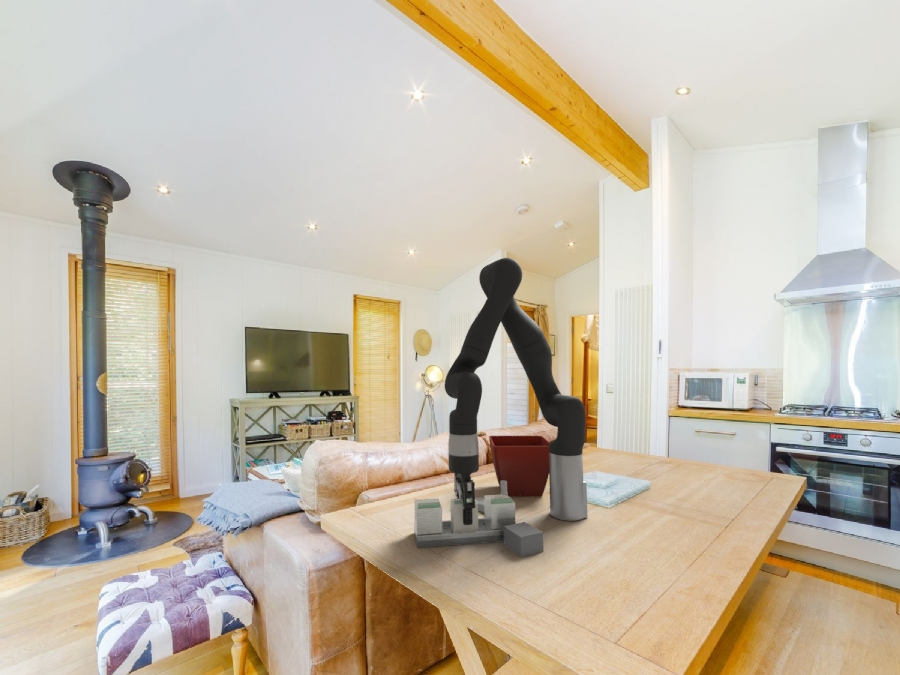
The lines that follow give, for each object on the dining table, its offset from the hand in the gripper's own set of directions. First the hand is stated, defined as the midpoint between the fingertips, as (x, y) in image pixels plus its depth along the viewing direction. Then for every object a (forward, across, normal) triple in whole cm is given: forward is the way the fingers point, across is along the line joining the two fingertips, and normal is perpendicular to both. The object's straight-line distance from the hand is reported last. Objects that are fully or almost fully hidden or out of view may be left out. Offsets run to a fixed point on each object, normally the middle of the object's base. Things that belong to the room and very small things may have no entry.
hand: (464, 518), depth 104 cm
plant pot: (+5, +33, -26) cm, 42 cm away
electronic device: (+5, +16, -12) cm, 20 cm away
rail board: (+4, 0, 0) cm, 4 cm away
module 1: (+3, 0, 0) cm, 3 cm away
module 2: (+5, -9, -12) cm, 16 cm away
